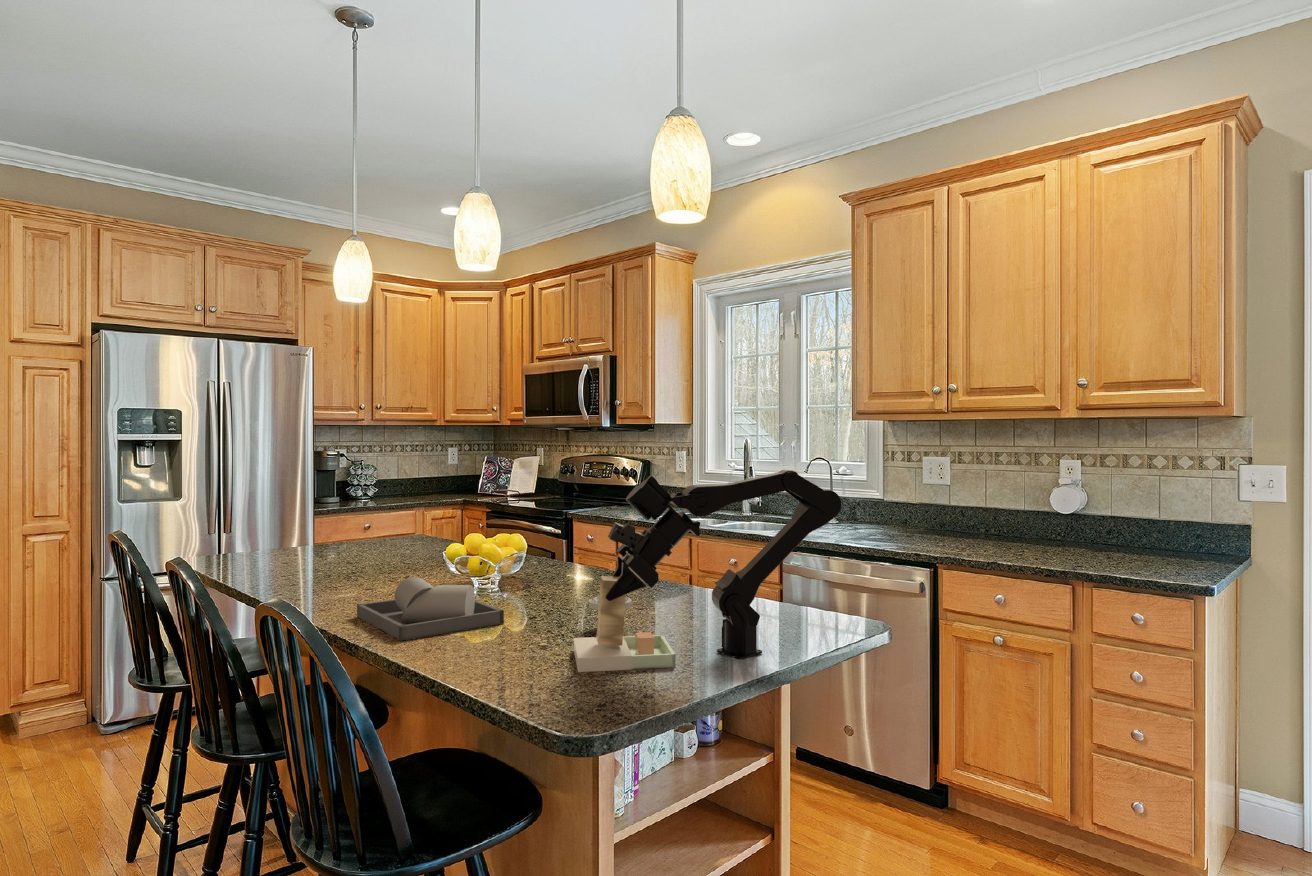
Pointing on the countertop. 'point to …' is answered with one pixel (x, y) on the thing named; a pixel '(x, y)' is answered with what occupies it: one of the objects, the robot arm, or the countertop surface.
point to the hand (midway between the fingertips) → (605, 596)
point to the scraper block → (610, 615)
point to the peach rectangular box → (644, 643)
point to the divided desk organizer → (390, 622)
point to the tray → (659, 659)
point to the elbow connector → (433, 600)
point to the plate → (601, 656)
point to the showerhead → (595, 603)
